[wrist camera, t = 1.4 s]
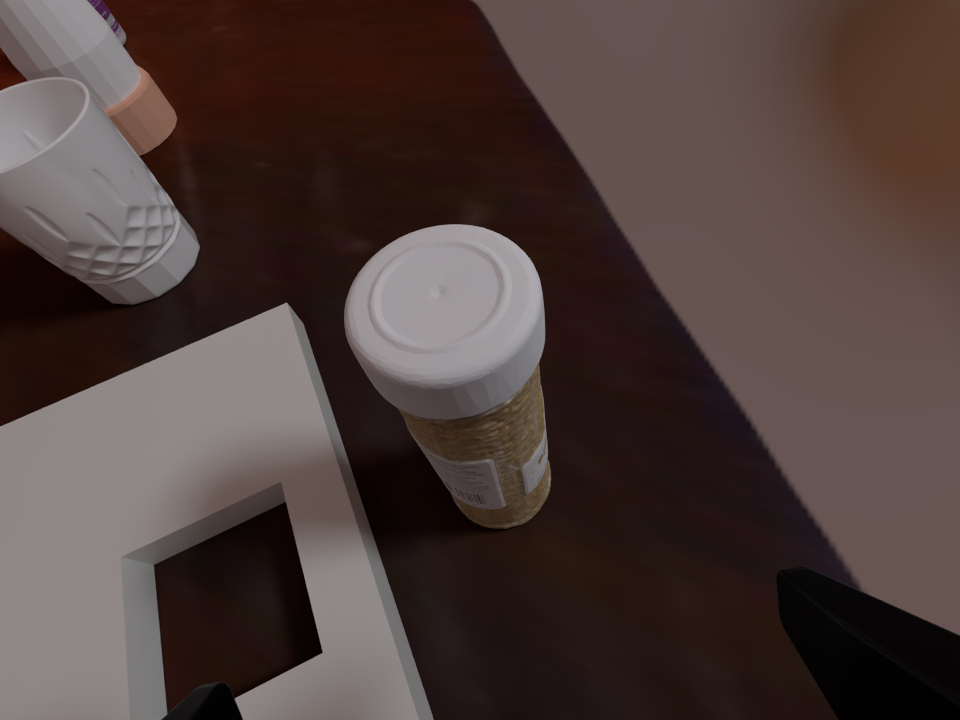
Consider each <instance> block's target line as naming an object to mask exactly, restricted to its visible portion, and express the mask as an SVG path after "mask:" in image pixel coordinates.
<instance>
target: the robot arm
mask: <svg viewBox="0 0 960 720" xmlns="http://www.w3.org/2000/svg"><path fill="white" fill-rule="evenodd" d="M777 592H778V604H779V614H780V619H781V622H782V624H783V627H784V629H785V631H786V633H787V634H788V636H789V638H790V639H791V641H792V643H793V644H794V646H795V648H796V649H797V651H798V653H799V654H800V656H801V658H802V659H803V661H804V663H805V664H806V666H807V668H808V669H809V671H810V673H811V674H812V676H813V678H814V679H815V681H816V683H817V684H818V686H819V688H820V689H821V691H822V693H823V694H824V696H825V698H826V699H827V701H828V703H829V704H830V706H831V708H832V709H833V711H834V713H835V714H836V716H837V718H838V719H839V720H960V635H958V634H955V633H953V632H951V631H949V630H946V629H944V628H942V627H940V626H937V625H935V624H933V623H931V622H928V621H926V620H924V619H922V618H919V617H917V616H915V615H913V614H911V613H908V612H906V611H904V610H902V609H900V608H897V607H895V606H893V605H891V604H888V603H886V602H884V601H882V600H879V599H877V598H875V597H873V596H871V595H868V594H866V593H864V592H862V591H859V590H857V589H855V588H853V587H850V586H848V585H846V584H844V583H841V582H839V581H837V580H835V579H833V578H830V577H828V576H826V575H824V574H821V573H819V572H817V571H815V570H812V569H810V568H807V567H795V568H790V569H785V570H781V571H780V572H778V574H777ZM161 720H243V718H242V715H241V713H240V710H239V708H238V706H237V703H236V701H235V698H234V696H233V693H232V691H231V689H230V687H229V685H228V684H227V683H225V682H216V683H211V684H206V685H202V686H200V687H198V688H196V689H195V690H194V691H193V692H192V693H191V694H189V695H188V696H187V697H186V698H185V699H184V700H183V701H182V702H180V703H179V704H178V705H177V706H176V707H175V708H174V709H173V710H171V711H170V712H169V713H168V714H167V715H166V716H165V717H164V718H163V719H161Z"/></svg>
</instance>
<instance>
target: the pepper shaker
mask: <svg viewBox="0 0 960 720" xmlns="http://www.w3.org/2000/svg"><path fill="white" fill-rule="evenodd" d="M0 47H1V48H2V50H3V51H4V53H5V54H6V55H7V57H8V58H9V60H10V61H11V62H12V64H13V65H14V66H15V67H16V68H17V69H18V70H19V71H20V72H21V74H22V75H23V76H24V77H25V78H26V79H27V80H28V81H31V80H36V79H41V78H49V77H65V78H71V79H74V80H77V81H79V82H81V83H82V84H84V85H85V86H86V87H87V89H88V90H89V91H90V93H91V94H92V95H93V97H94V98H95V99H96V101H97V102H98V103H99V105H100V106H101V107H102V108H103V110H104V111H105V112H106V114H107V115H108V116H109V118H110V119H111V120H112V122H113V123H114V124H115V125H116V127H117V128H118V129H119V131H120V132H121V133H122V135H123V136H124V137H125V138H126V140H127V141H128V142H129V144H130V145H131V146H132V148H133V149H134V150H135V151H136V153H137V154H138V155H139V156H141V155H143V154H146V153H147V152H149V151H151V150H152V149H154V148H155V147H157V146H159V145H160V144H161V143H162V142H163V141H164V140H165V139H166V138H167V137H169V135H170V134H171V132H172V131H173V129H174V128H175V126H176V121H177V116H176V113H175V111H174V110H173V108H172V107H171V105H170V104H169V103H168V101H167V100H166V98H165V97H164V95H163V94H162V92H161V91H160V90H159V88H158V87H157V85H156V84H155V82H154V81H153V80H152V78H151V77H150V75H149V74H148V72H146V71H145V70H143V69H142V68H141V67H139V66H137V65H135V63H134V62H133V60H132V59H131V57H130V56H129V54H128V53H127V51H126V50H125V48H124V47H123V45H122V44H121V42H120V41H119V39H118V38H117V36H116V35H115V34H114V32H113V31H112V29H111V28H110V26H109V25H108V23H107V22H106V21H105V20H104V19H103V17H102V16H101V15H100V14H99V13H98V12H97V11H96V10H95V9H94V7H93V6H92V5H91V4H90V3H89V2H88V1H87V0H0Z"/></svg>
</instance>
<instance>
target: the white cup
mask: <svg viewBox="0 0 960 720" xmlns="http://www.w3.org/2000/svg"><path fill="white" fill-rule="evenodd" d="M0 227H1V228H2V229H4V230H5V231H6V232H8V233H9V234H10V235H12V236H13V237H14V238H16V239H17V240H18V241H20V242H21V243H23V244H25V245H26V246H28V247H30V248H31V249H33V250H34V251H36V252H37V253H38V254H39V255H41V256H42V257H43V258H45V259H46V260H48V261H49V262H51V263H52V264H54V265H56V266H57V267H59V268H60V269H61V270H63V271H64V272H65V273H67V274H69V275H72V276H74V277H76V278H77V279H78V280H80V281H82V282H84V283H85V284H87V285H88V286H89V287H91V288H92V289H94V290H95V291H96V292H98V293H99V294H100V295H102V296H103V297H104V298H106V299H107V300H108V301H110V302H111V303H114V304H130V305H135V304H139V303H142V302H145V301H148V300H152V299H155V298H158V297H160V296H161V295H163V294H164V293H166V292H167V291H169V290H170V289H172V288H173V287H175V286H176V285H178V284H179V283H180V282H181V281H182V280H183V279H184V278H185V276H186V275H187V274H188V273H189V271H190V270H191V269H192V268H193V267H194V265H195V262H196V259H197V256H198V252H199V249H200V246H199V243H198V240H197V237H196V234H195V232H194V231H193V229H192V228H191V227H190V226H189V224H188V223H187V222H186V220H185V219H184V218H183V217H182V215H181V214H180V213H179V212H178V210H177V209H176V208H175V206H174V204H173V202H172V200H171V199H170V197H169V196H168V195H167V193H166V192H165V190H164V189H163V188H162V187H161V186H160V185H159V183H158V182H157V180H156V179H155V177H154V176H153V174H152V173H151V171H150V170H149V169H148V167H147V166H146V165H145V163H144V162H143V161H142V159H141V158H140V157H139V155H138V154H137V153H136V151H135V150H134V149H133V148H132V146H131V145H130V144H129V142H128V141H127V140H126V138H125V137H124V136H123V135H122V133H121V132H120V131H119V129H118V128H117V127H116V125H115V124H114V123H113V122H112V120H111V119H110V118H109V116H108V115H107V114H106V112H105V111H104V110H103V108H102V107H101V106H100V105H99V103H98V102H97V101H96V99H95V98H94V97H93V95H92V94H91V93H90V91H89V90H88V89H87V87H86V86H85V85H84V84H82V83H81V82H79V81H77V80H74V79H71V78H65V77H49V78H41V79H36V80H31V81H27V82H23V83H20V84H17V85H14V86H11V87H9V88H6V89H3V90H1V91H0Z"/></svg>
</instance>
